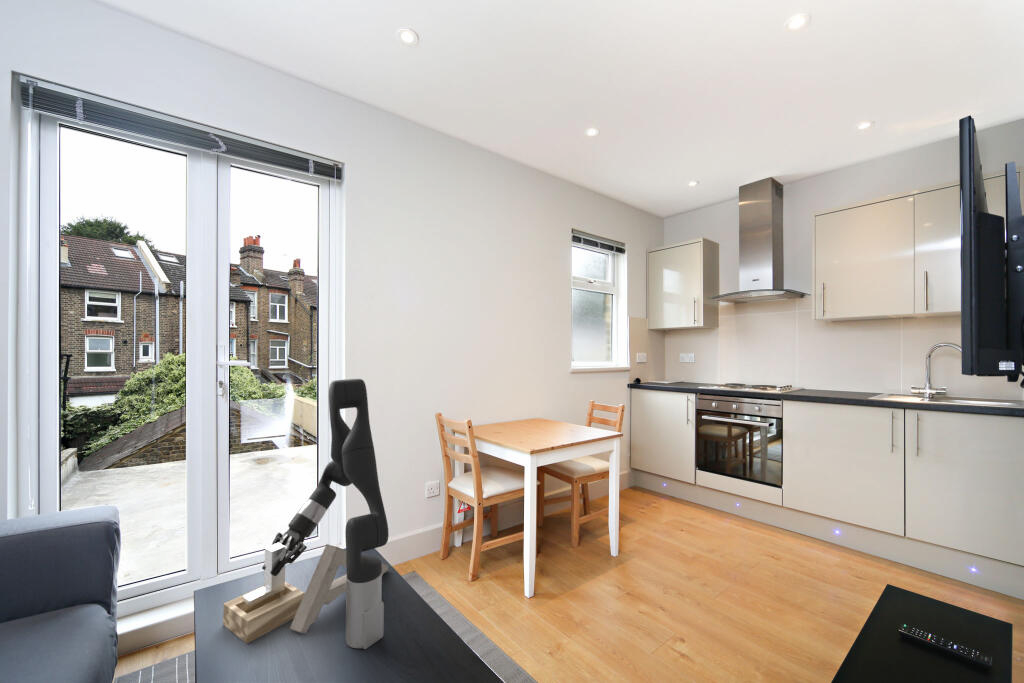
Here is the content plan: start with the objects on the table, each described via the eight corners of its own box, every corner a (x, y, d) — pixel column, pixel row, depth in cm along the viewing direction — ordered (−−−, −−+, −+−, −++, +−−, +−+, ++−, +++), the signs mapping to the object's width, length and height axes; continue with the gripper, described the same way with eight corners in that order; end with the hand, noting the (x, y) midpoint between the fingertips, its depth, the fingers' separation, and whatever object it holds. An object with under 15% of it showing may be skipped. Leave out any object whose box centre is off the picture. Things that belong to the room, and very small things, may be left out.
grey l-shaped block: (284, 589, 127) (285, 546, 127) (249, 606, 119) (250, 560, 119) (277, 584, 129) (278, 542, 129) (242, 601, 121) (243, 556, 121)
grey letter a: (362, 639, 139) (300, 632, 116) (352, 636, 140) (289, 628, 118) (388, 566, 151) (337, 546, 128) (379, 563, 152) (326, 544, 130)
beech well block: (303, 612, 127) (304, 592, 127) (247, 643, 113) (247, 621, 113) (279, 597, 134) (279, 578, 135) (223, 624, 121) (223, 603, 121)
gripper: (287, 507, 137) (247, 560, 127) (313, 517, 129) (272, 575, 119) (303, 518, 141) (265, 570, 131) (328, 528, 134) (290, 585, 123)
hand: (268, 572), depth 125 cm, fingers closed on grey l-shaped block, 4 cm apart
